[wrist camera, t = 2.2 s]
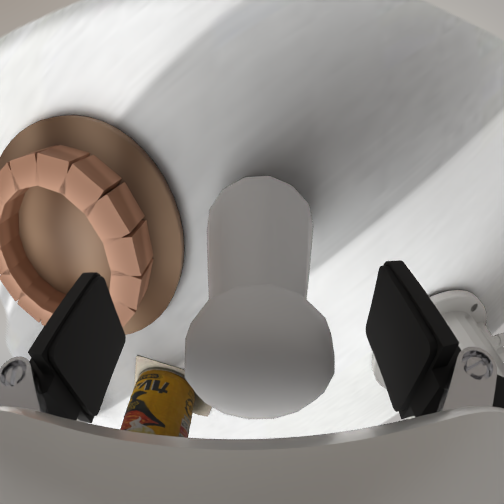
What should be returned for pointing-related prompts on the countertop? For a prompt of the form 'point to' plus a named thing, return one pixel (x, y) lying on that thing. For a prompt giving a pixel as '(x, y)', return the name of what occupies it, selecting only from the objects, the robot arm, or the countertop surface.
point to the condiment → (162, 401)
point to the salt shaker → (259, 306)
